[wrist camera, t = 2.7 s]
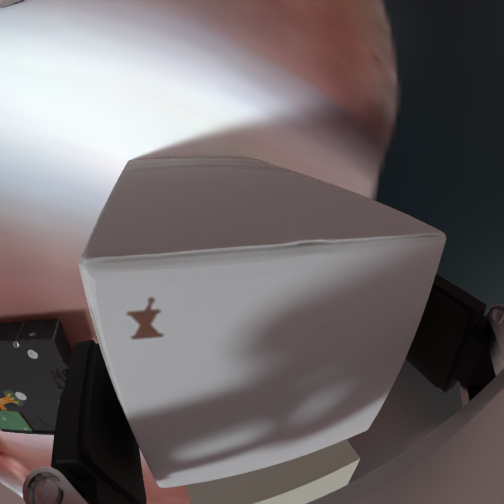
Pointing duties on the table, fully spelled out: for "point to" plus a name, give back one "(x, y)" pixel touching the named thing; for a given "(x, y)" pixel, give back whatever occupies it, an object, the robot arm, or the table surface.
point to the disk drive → (32, 375)
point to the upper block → (283, 480)
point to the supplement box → (250, 310)
